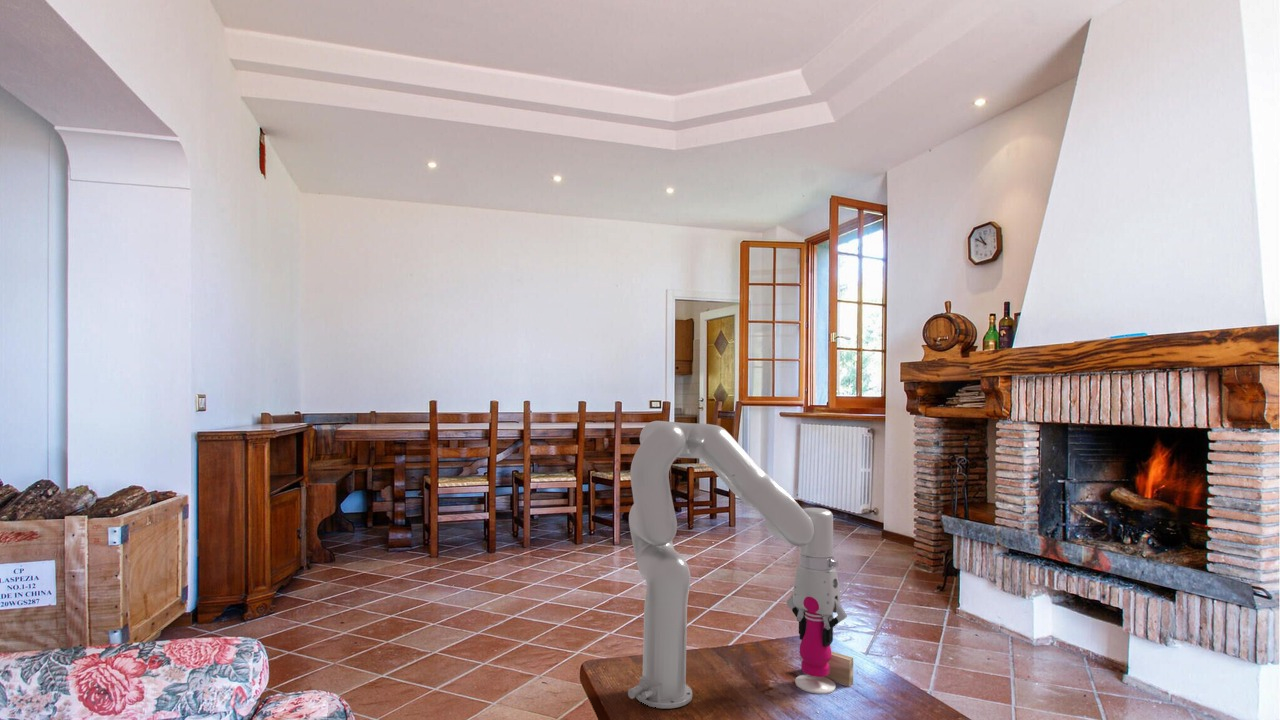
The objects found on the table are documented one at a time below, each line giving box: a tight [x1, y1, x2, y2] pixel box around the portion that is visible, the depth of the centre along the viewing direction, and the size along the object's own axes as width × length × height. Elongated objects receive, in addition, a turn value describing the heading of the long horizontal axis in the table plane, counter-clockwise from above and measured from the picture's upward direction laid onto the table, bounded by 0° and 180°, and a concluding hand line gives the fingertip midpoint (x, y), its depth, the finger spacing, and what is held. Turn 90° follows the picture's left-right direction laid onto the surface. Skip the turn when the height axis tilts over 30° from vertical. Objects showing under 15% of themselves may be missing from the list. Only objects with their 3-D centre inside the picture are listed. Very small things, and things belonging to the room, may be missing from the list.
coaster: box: [794, 674, 836, 695], centre depth 151 cm, size 9×9×1 cm
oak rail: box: [801, 650, 854, 688], centre depth 155 cm, size 2×12×6 cm, turn 47°
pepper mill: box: [799, 597, 832, 677], centre depth 151 cm, size 7×7×20 cm
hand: (815, 640), depth 151 cm, fingers closed on pepper mill, 5 cm apart
